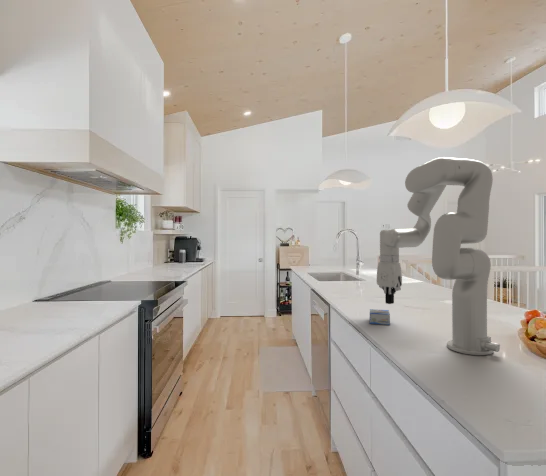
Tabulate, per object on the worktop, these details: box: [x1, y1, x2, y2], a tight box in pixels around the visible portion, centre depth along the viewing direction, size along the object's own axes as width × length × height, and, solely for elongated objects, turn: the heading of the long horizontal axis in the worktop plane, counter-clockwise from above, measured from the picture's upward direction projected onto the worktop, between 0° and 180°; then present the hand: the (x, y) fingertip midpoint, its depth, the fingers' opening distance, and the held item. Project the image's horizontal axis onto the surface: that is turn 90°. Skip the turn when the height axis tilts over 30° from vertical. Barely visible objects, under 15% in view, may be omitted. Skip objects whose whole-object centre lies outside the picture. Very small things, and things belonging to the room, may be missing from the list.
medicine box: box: [369, 309, 391, 326], centre depth 145 cm, size 8×4×9 cm
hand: (389, 303), depth 146 cm, fingers closed
